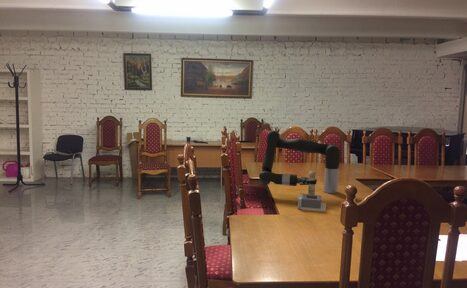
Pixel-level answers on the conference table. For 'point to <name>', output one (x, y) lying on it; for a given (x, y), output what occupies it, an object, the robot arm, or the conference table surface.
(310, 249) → the conference table surface
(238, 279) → the conference table surface
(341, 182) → the conference table surface
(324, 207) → the dowel dock
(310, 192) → the dowel
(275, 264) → the conference table surface
